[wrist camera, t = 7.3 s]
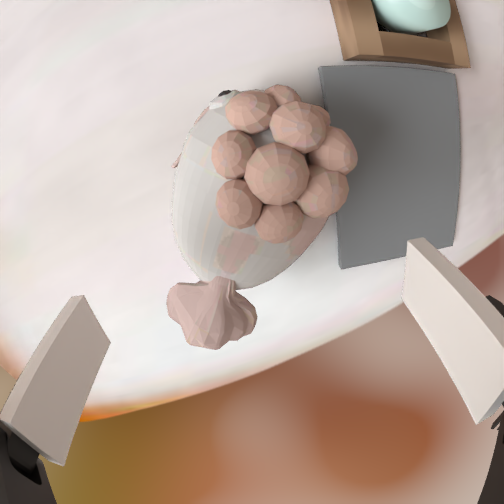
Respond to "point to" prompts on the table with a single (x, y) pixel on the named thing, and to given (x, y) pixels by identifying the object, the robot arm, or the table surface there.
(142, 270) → the table surface
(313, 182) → the toy
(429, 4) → the dome
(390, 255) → the mat
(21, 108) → the table surface
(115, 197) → the table surface
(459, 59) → the housing
